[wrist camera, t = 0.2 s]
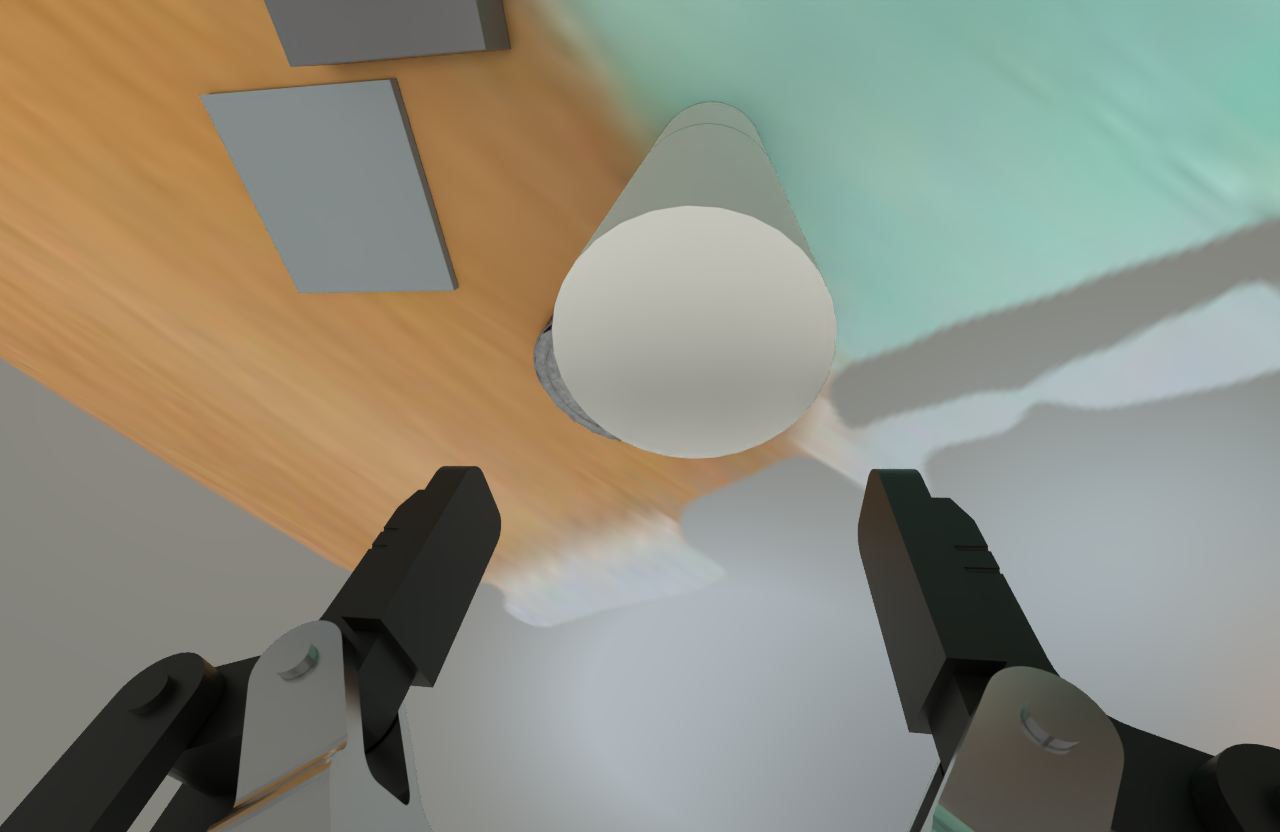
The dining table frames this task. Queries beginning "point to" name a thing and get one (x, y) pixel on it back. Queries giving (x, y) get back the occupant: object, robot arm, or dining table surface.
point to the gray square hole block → (385, 29)
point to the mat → (337, 185)
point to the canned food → (560, 382)
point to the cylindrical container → (697, 299)
